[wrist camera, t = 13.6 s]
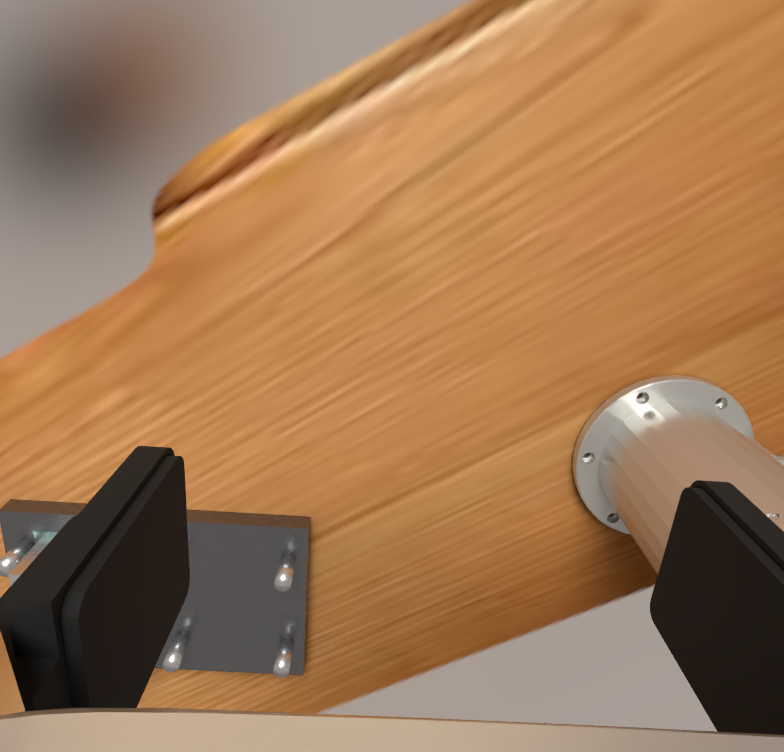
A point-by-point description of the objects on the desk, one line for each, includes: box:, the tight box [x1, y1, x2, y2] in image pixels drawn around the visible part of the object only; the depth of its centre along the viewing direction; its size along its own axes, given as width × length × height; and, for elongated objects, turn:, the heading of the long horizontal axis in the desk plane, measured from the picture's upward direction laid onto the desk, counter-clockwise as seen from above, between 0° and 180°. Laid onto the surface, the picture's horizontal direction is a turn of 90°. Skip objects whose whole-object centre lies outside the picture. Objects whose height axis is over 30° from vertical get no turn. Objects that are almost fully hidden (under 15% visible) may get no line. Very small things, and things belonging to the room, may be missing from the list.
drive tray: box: [0, 499, 310, 677], centre depth 44 cm, size 22×14×4 cm, turn 86°
